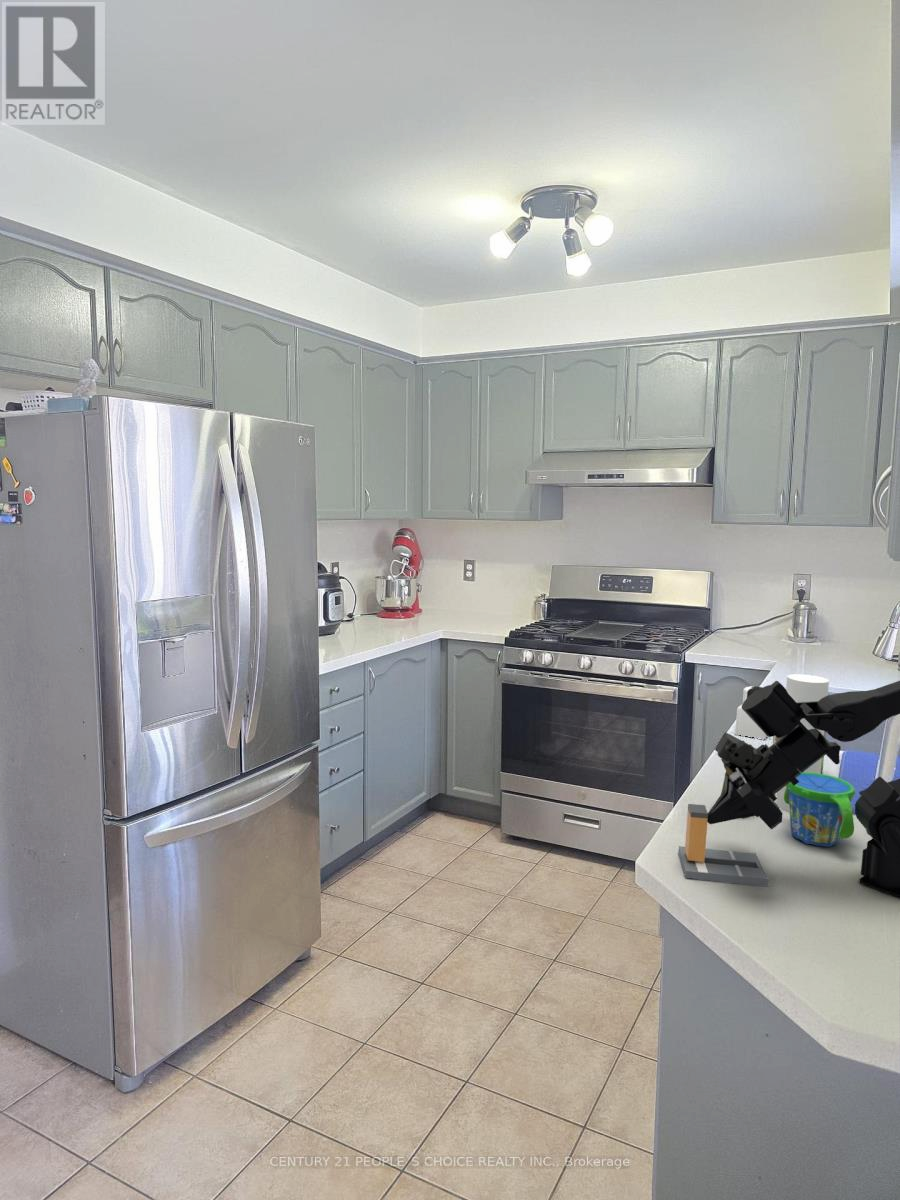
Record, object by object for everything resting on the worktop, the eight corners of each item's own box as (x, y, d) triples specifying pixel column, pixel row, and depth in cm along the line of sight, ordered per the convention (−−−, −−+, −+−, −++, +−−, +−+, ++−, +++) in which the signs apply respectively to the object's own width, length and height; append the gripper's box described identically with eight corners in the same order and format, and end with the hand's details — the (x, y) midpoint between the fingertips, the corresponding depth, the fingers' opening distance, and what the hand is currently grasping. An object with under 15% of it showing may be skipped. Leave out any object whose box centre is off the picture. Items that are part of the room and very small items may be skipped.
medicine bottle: (770, 733, 202) (774, 687, 200) (764, 740, 196) (768, 692, 194) (741, 728, 206) (744, 683, 204) (734, 735, 200) (738, 688, 198)
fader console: (755, 860, 129) (755, 852, 129) (768, 886, 120) (768, 878, 120) (678, 853, 131) (678, 845, 131) (685, 878, 122) (686, 870, 122)
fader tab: (700, 860, 128) (704, 805, 126) (703, 869, 124) (707, 813, 123) (684, 858, 128) (688, 803, 127) (687, 868, 125) (691, 812, 123)
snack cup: (871, 858, 131) (877, 799, 130) (809, 859, 130) (815, 799, 129) (819, 820, 146) (824, 766, 145) (764, 821, 145) (768, 766, 144)
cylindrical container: (822, 807, 153) (834, 679, 150) (809, 817, 148) (821, 684, 145) (784, 797, 158) (795, 672, 155) (770, 806, 153) (781, 677, 149)
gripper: (739, 704, 131) (665, 763, 134) (765, 736, 113) (679, 805, 116) (785, 754, 131) (711, 813, 134) (819, 795, 113) (731, 862, 116)
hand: (707, 821), depth 125 cm, fingers closed, pressing on fader tab
